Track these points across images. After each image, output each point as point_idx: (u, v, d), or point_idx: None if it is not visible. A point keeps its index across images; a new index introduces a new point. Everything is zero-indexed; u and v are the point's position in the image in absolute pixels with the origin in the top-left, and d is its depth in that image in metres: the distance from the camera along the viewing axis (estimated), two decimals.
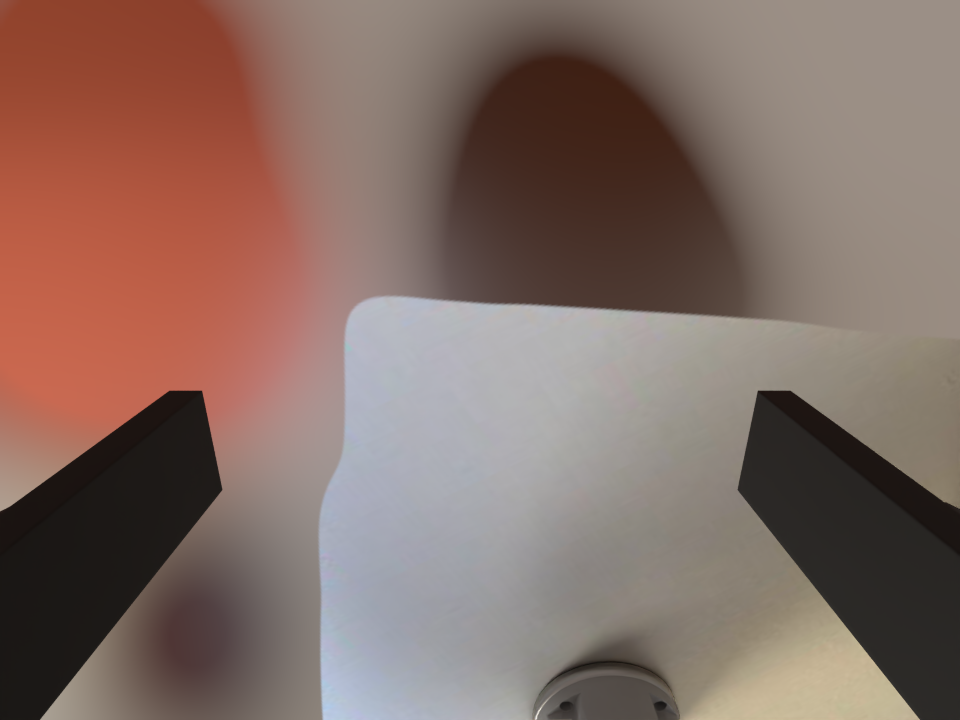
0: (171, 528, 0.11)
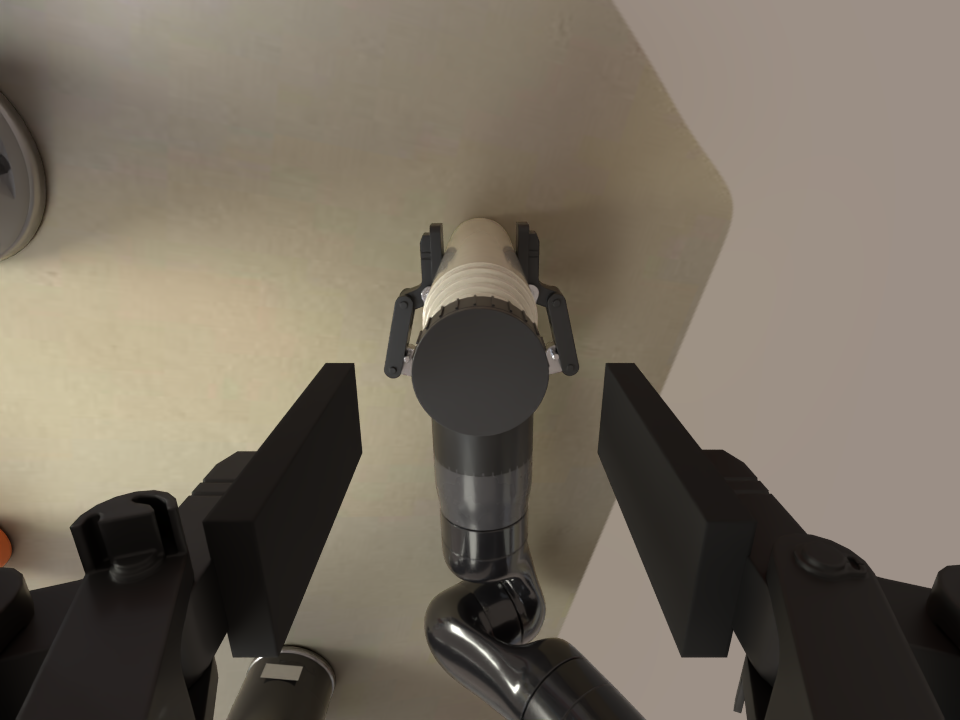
0: (342, 479, 0.12)
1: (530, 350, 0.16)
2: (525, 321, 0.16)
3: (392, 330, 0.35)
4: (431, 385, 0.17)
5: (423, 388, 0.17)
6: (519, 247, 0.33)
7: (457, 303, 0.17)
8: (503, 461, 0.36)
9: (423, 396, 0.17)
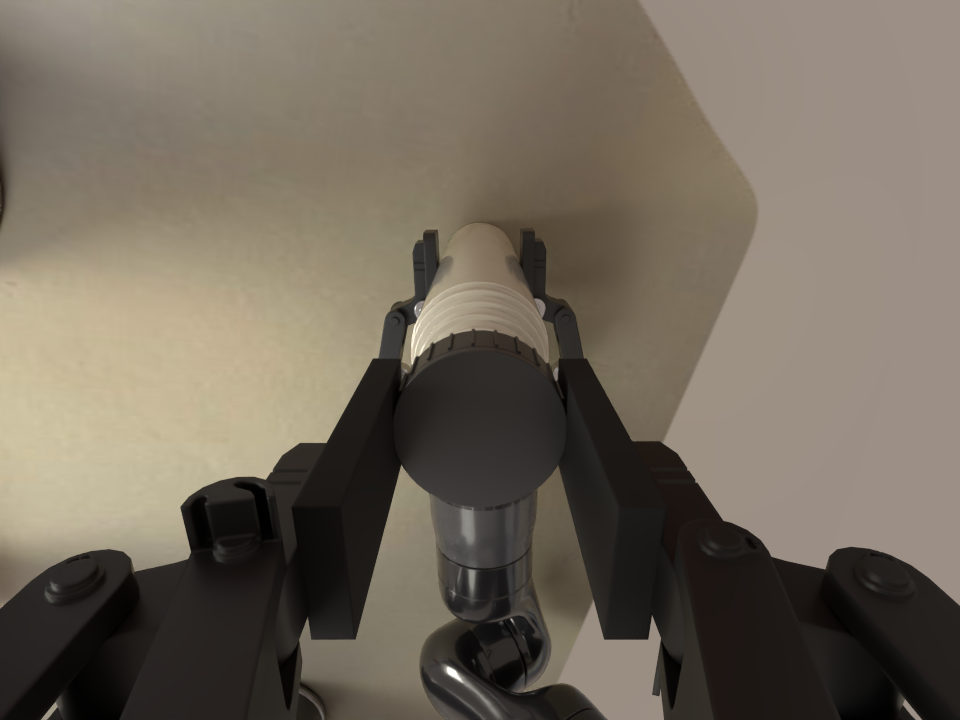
0: (394, 471, 0.13)
1: (544, 402, 0.13)
2: (538, 365, 0.13)
3: (382, 349, 0.31)
4: (417, 445, 0.13)
5: (407, 449, 0.13)
6: (524, 257, 0.30)
7: (450, 341, 0.13)
8: None
9: (407, 459, 0.13)
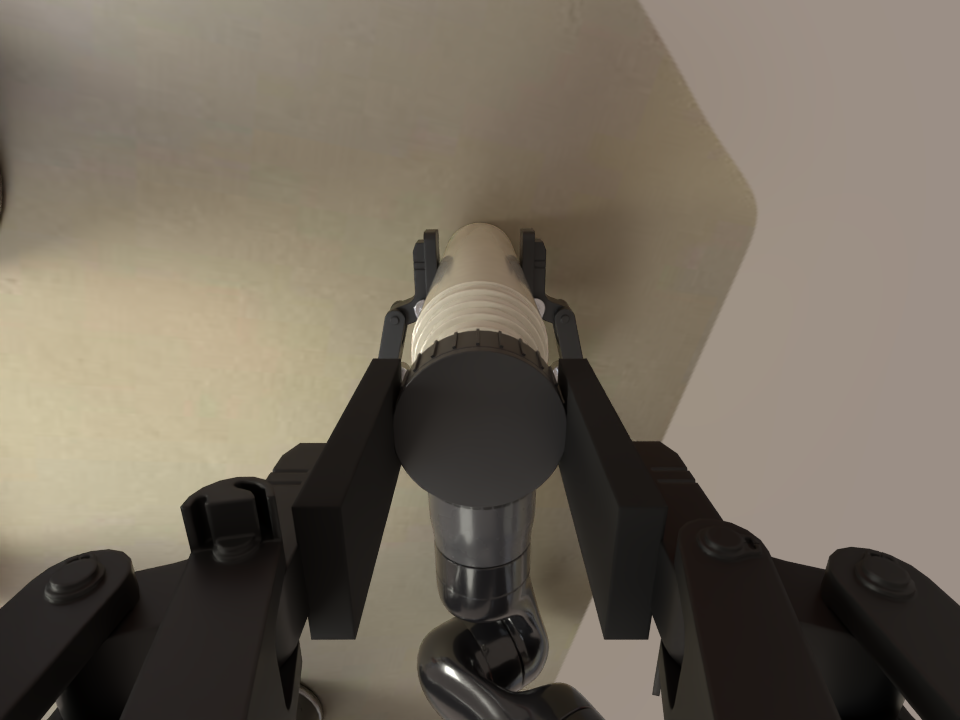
0: (393, 471, 0.13)
1: (447, 373, 0.12)
2: (414, 372, 0.13)
3: (382, 348, 0.31)
4: (489, 487, 0.13)
5: (492, 496, 0.13)
6: (524, 257, 0.30)
7: None
8: None
9: (504, 496, 0.14)
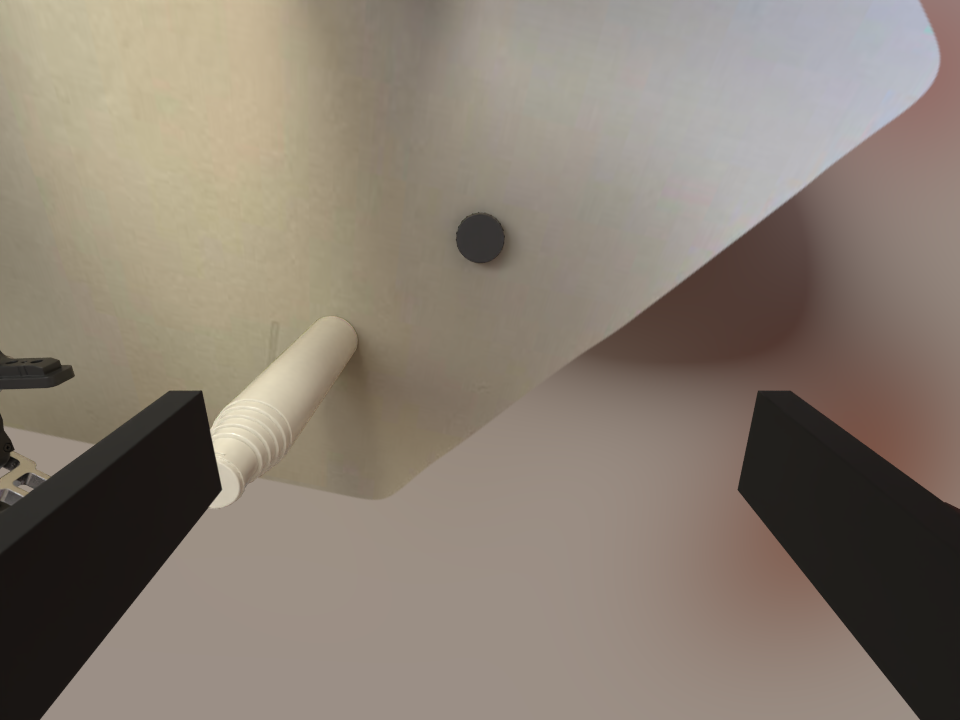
0: (171, 528, 0.11)
1: (475, 219, 0.47)
2: (466, 218, 0.47)
3: None
4: (479, 256, 0.48)
5: (479, 259, 0.48)
6: None
7: None
8: None
9: (482, 260, 0.48)
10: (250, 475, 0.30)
